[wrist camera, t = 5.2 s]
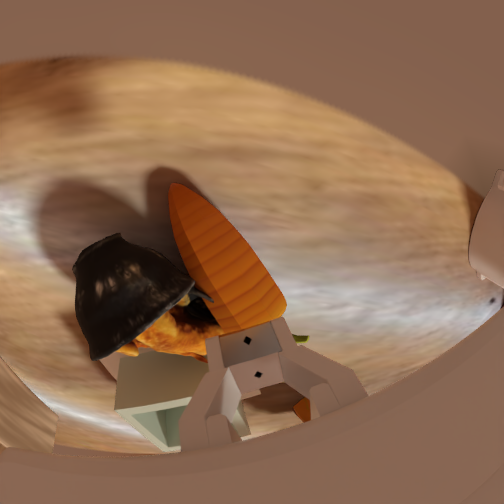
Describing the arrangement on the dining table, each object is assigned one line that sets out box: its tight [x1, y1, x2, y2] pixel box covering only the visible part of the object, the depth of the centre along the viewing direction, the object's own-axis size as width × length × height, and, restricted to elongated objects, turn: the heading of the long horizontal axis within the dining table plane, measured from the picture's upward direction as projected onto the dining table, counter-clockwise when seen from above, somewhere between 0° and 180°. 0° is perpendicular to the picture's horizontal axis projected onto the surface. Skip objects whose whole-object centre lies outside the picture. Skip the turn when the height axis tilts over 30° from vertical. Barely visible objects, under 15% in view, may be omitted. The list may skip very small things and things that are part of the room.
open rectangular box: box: [100, 347, 261, 452], centre depth 23 cm, size 14×14×7 cm
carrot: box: [168, 183, 309, 343], centre depth 18 cm, size 5×5×15 cm
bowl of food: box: [72, 233, 285, 383], centre depth 18 cm, size 9×11×18 cm
